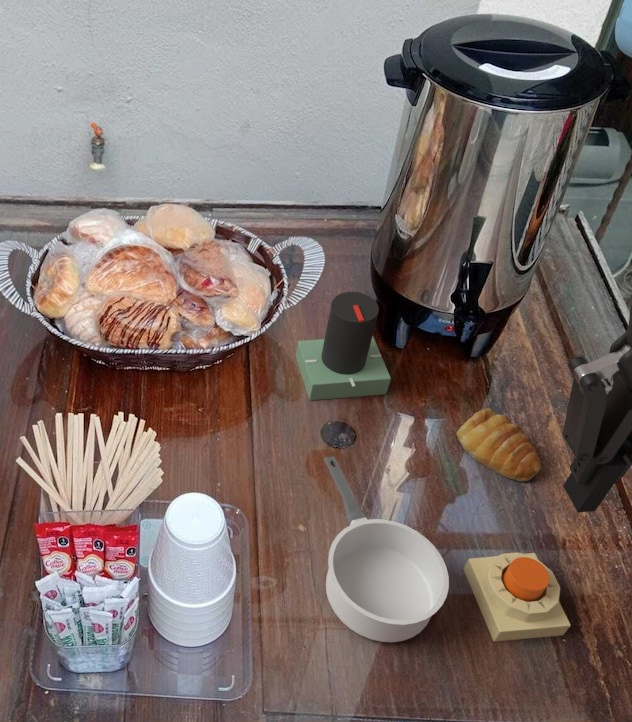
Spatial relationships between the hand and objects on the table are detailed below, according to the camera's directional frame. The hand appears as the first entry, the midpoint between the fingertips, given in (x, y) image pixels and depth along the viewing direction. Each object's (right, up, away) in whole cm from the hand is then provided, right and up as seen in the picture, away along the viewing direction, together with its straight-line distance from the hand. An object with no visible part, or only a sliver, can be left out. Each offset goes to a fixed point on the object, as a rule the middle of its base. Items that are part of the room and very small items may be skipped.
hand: (578, 498), depth 66 cm
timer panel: (-11, +10, +36) cm, 39 cm away
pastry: (+5, +1, +27) cm, 27 cm away
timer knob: (-11, +12, +34) cm, 37 cm away
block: (+1, -13, +13) cm, 18 cm away
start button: (+1, -10, +11) cm, 15 cm away
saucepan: (-14, -10, +17) cm, 24 cm away
